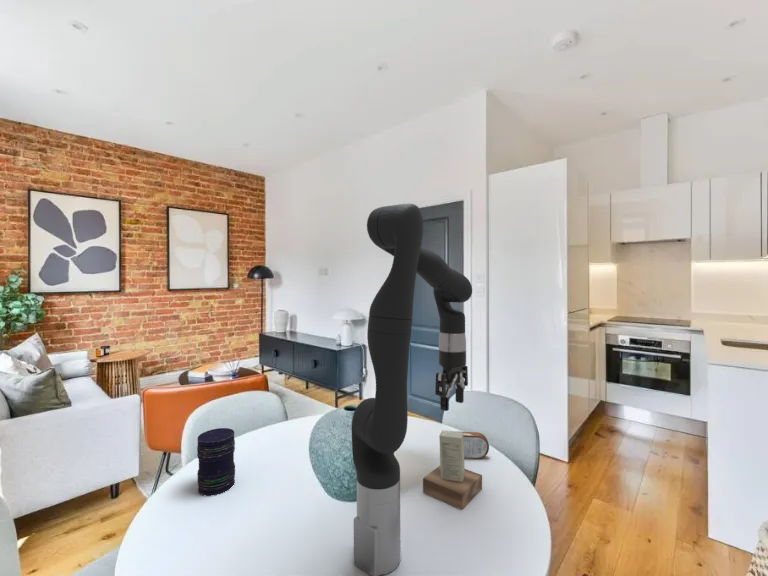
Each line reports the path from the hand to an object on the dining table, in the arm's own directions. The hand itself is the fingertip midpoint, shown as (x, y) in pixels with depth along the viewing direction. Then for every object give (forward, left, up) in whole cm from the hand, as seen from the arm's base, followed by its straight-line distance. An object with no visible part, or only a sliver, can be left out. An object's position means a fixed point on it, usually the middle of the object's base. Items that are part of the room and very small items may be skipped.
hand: (452, 406), depth 100 cm
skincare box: (0, 0, -20) cm, 20 cm away
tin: (+20, +6, -24) cm, 32 cm away
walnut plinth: (0, 0, -24) cm, 24 cm away
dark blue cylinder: (-41, +54, -24) cm, 72 cm away
